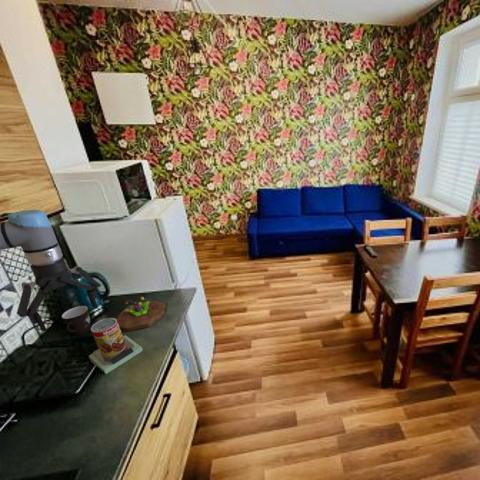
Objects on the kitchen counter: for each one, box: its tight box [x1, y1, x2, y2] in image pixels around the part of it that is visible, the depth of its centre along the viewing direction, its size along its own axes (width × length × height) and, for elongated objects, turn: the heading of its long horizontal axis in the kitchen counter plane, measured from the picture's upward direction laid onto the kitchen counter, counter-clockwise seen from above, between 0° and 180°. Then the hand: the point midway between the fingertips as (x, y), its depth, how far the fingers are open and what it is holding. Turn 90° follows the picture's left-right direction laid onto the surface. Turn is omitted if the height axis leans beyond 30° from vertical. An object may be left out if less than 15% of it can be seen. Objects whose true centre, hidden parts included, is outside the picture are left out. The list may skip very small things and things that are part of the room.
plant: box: [116, 296, 167, 333], centre depth 126 cm, size 20×20×11 cm
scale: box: [88, 335, 144, 375], centre depth 105 cm, size 13×13×5 cm
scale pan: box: [92, 337, 135, 365], centre depth 104 cm, size 10×10×1 cm
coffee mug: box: [61, 305, 93, 336], centre depth 116 cm, size 12×9×10 cm
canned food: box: [90, 317, 126, 357], centre depth 102 cm, size 8×8×12 cm
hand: (70, 317), depth 89 cm, fingers open, 13 cm apart
